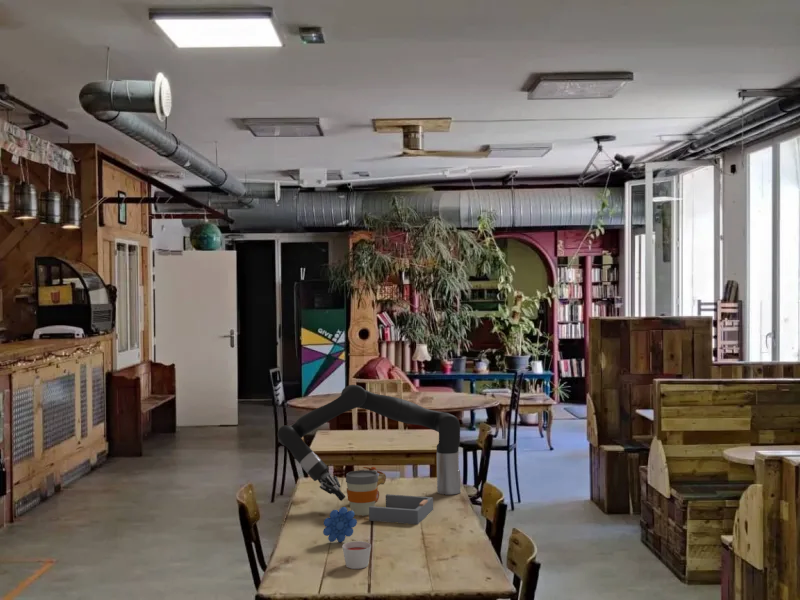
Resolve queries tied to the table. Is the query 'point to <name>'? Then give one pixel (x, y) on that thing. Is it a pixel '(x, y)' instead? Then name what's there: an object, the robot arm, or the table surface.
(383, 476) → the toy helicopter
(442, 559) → the table surface
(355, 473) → the reusable coffee cup
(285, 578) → the table surface
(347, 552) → the candle
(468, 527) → the table surface
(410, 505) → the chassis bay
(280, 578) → the table surface
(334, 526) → the grapes
